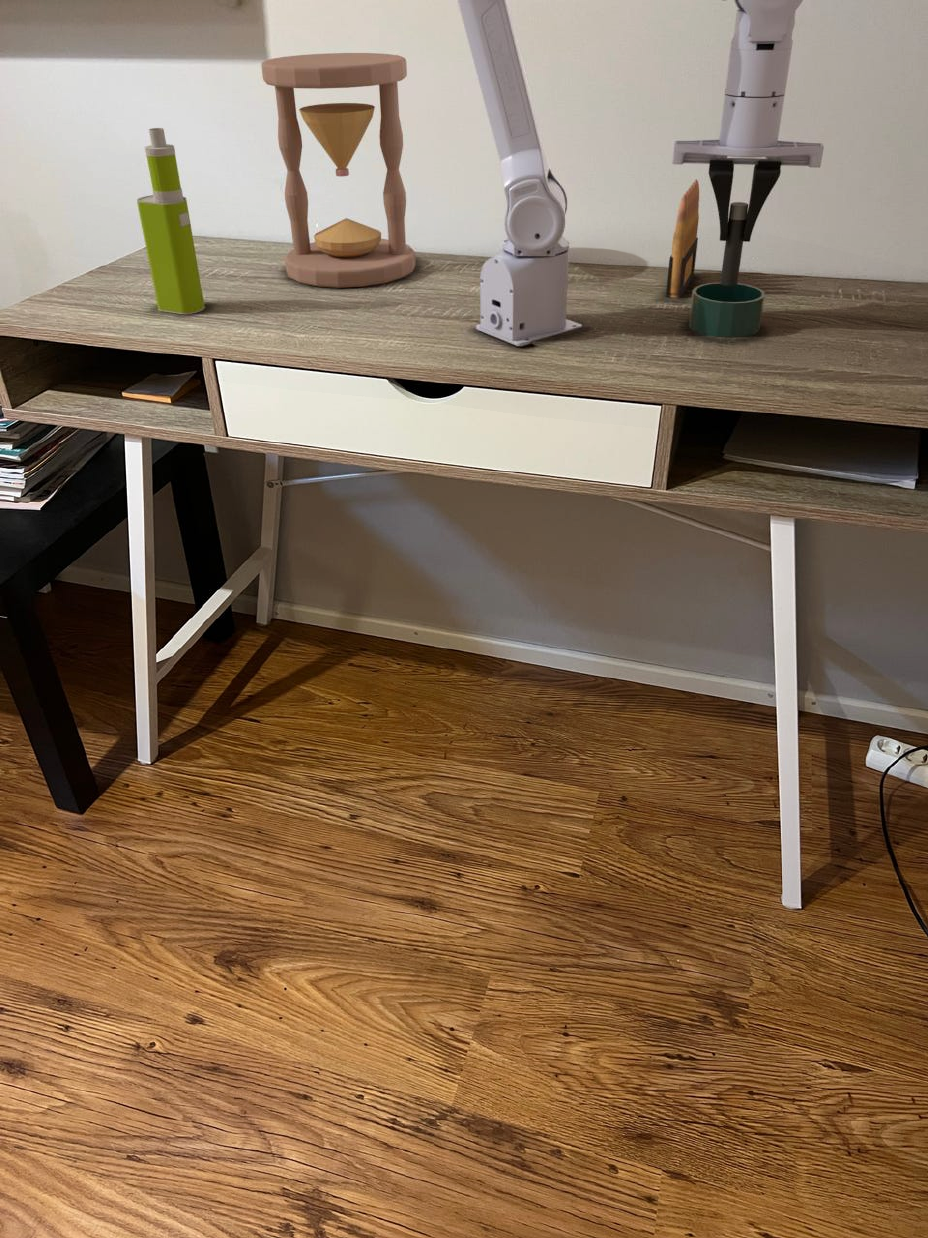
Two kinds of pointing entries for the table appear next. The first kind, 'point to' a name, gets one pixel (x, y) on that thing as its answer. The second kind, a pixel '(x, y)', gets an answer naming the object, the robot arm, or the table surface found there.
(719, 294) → the pen cup
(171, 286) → the vape
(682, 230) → the ammunition clip
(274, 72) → the hourglass
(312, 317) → the table surface
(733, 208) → the marker
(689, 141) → the robot arm
